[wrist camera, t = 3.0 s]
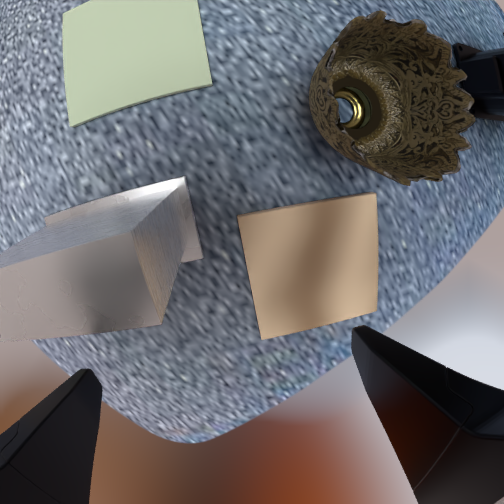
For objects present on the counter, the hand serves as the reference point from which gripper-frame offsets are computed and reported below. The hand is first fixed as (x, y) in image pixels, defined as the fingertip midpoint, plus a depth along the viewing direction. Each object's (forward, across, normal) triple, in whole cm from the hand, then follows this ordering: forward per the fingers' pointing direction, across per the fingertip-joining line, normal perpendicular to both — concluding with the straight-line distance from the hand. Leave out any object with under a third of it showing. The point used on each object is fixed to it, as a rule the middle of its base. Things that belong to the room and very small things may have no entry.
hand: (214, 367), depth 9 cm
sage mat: (+10, +3, -14) cm, 18 cm away
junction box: (+10, +6, -2) cm, 12 cm away
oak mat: (+10, -6, +3) cm, 12 cm away
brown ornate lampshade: (+11, -9, -7) cm, 16 cm away
